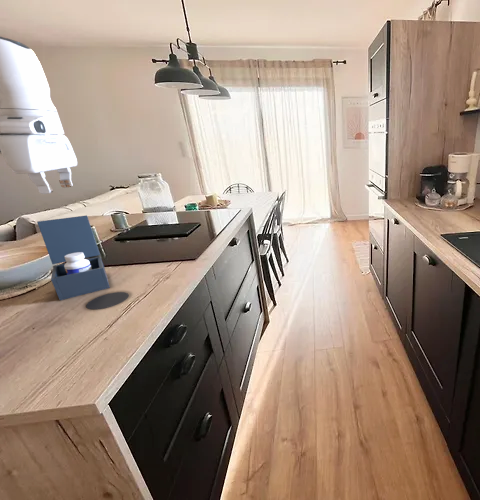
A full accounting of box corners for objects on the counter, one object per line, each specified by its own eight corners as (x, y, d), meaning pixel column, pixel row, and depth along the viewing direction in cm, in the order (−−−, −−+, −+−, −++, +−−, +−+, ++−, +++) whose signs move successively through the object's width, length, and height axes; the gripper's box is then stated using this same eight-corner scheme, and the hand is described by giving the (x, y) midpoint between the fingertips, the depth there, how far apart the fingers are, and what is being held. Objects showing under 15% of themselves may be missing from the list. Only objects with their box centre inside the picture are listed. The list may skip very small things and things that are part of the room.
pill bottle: (67, 288, 82) (54, 257, 78) (87, 280, 87) (76, 250, 83) (82, 291, 81) (69, 259, 77) (101, 282, 86) (91, 252, 82)
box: (110, 289, 83) (103, 267, 81) (60, 302, 77) (50, 279, 74) (107, 276, 91) (100, 256, 89) (61, 286, 85) (53, 265, 82)
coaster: (80, 314, 71) (79, 312, 71) (94, 297, 79) (94, 295, 79) (123, 306, 74) (123, 305, 74) (133, 291, 82) (132, 289, 82)
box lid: (87, 215, 86) (87, 215, 87) (36, 221, 80) (37, 221, 80) (100, 255, 88) (100, 254, 89) (52, 264, 82) (52, 264, 82)
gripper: (42, 127, 70) (62, 184, 75) (-21, 123, 52) (11, 198, 57) (74, 127, 72) (92, 183, 77) (25, 123, 54) (52, 196, 59)
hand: (57, 190), depth 67 cm, fingers open, 8 cm apart
